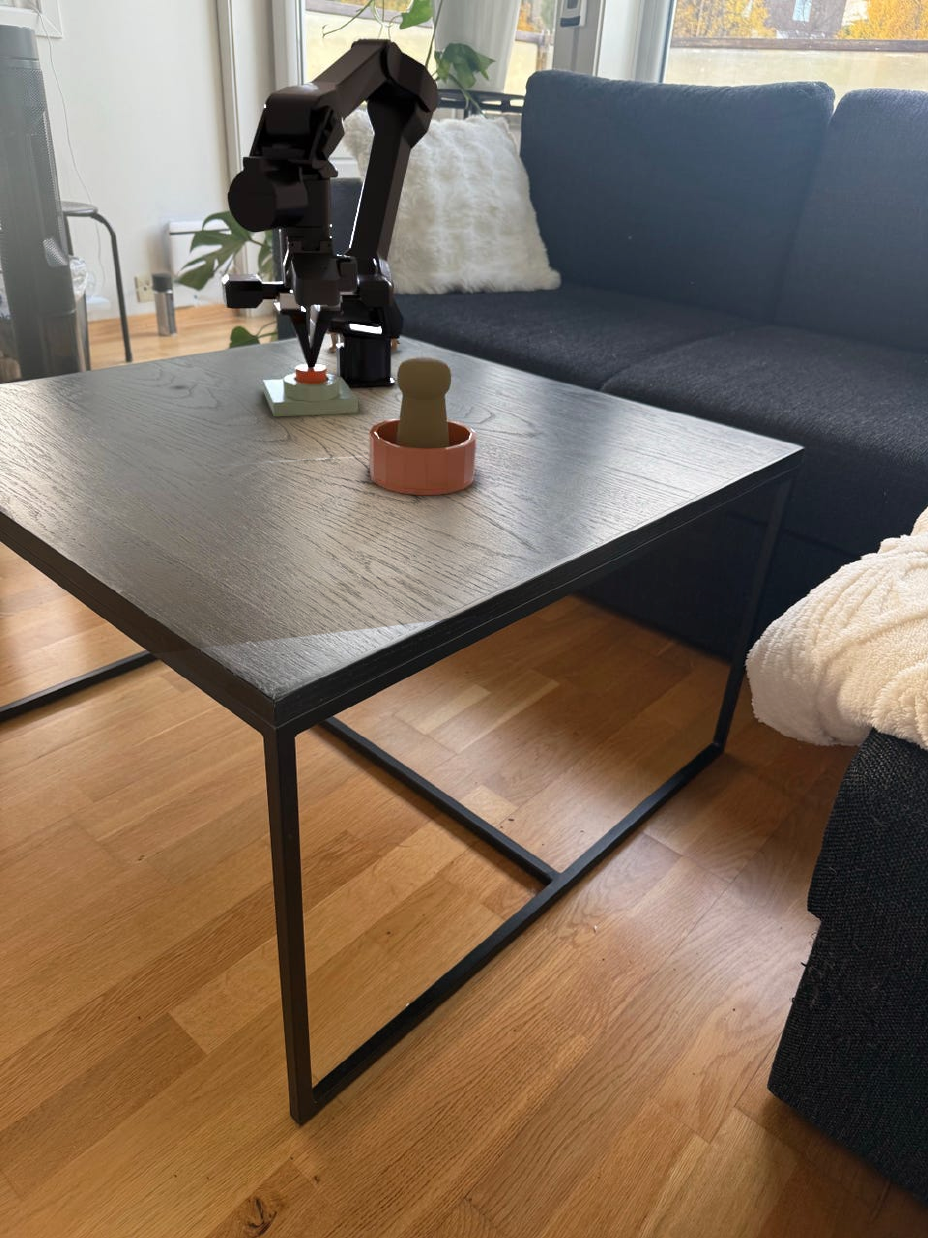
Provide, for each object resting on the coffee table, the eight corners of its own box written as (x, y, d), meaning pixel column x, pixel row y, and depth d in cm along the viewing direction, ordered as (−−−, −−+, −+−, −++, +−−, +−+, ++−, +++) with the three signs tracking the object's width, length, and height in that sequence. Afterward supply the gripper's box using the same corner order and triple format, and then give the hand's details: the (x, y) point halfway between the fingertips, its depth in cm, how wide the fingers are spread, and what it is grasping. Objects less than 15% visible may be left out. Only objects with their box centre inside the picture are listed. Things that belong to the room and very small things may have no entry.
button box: (342, 390, 115) (341, 362, 113) (358, 413, 107) (358, 384, 105) (264, 393, 112) (262, 365, 111) (274, 417, 104) (272, 387, 102)
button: (323, 377, 108) (323, 363, 108) (329, 385, 105) (328, 370, 105) (294, 378, 107) (293, 364, 107) (298, 386, 104) (298, 371, 104)
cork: (421, 485, 86) (423, 370, 80) (379, 467, 89) (379, 357, 84) (464, 471, 89) (469, 360, 84) (422, 455, 93) (425, 348, 88)
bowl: (456, 455, 95) (457, 414, 93) (487, 491, 87) (490, 446, 84) (360, 461, 92) (360, 419, 90) (383, 498, 84) (383, 453, 81)
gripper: (224, 232, 89) (237, 388, 96) (405, 234, 94) (403, 382, 102) (216, 219, 98) (228, 362, 105) (381, 222, 103) (381, 358, 111)
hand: (311, 366), depth 106 cm, fingers closed
